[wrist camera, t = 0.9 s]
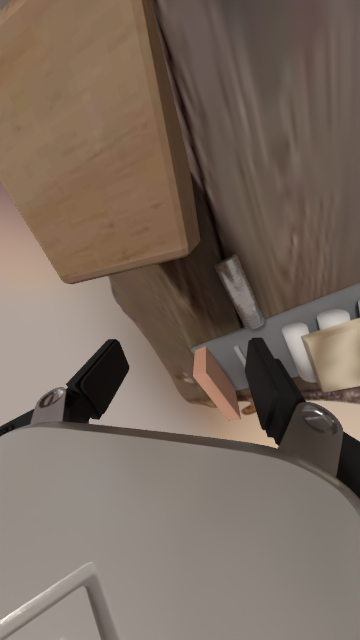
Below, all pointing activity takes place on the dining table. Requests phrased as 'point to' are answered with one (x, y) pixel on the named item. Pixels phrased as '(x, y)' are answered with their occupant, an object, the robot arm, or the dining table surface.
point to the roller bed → (269, 346)
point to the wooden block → (93, 136)
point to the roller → (240, 291)
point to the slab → (335, 355)
